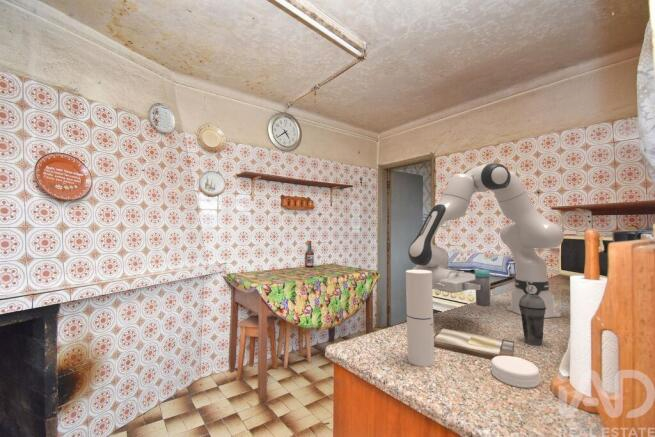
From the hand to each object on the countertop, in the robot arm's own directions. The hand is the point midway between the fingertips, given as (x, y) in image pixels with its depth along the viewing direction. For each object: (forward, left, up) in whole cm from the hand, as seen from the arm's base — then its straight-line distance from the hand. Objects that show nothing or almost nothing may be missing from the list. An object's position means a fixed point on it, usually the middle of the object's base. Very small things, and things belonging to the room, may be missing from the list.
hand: (485, 286), depth 99 cm
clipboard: (+13, -3, -17) cm, 21 cm away
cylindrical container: (+32, -13, -17) cm, 38 cm away
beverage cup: (-1, +13, -17) cm, 21 cm away
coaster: (+28, +9, -17) cm, 34 cm away
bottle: (0, -1, -7) cm, 7 cm away
